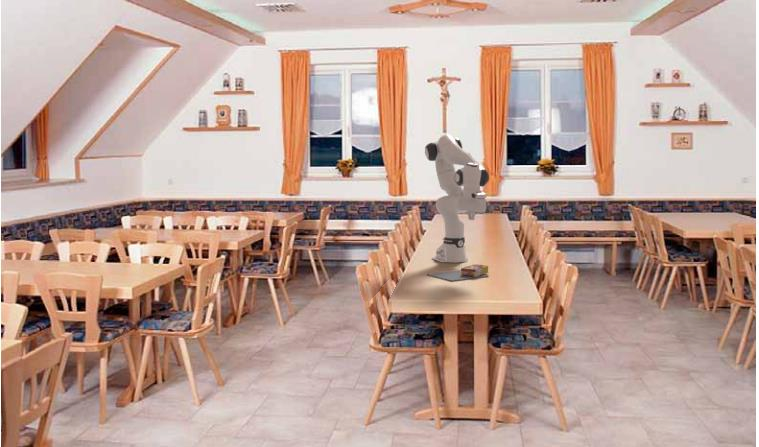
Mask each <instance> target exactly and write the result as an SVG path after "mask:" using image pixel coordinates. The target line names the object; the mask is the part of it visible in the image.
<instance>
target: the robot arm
mask: <svg viewBox="0 0 759 447" xmlns="http://www.w3.org/2000/svg"><path fill="white" fill-rule="evenodd" d="M424 154H425V156H426V159H427V160H428V161H430V162H434V163H435V172H436V176H437V180H438V185H439V187H440V189H441V190H443V191H444V192H445V193H446V194H447V195H444V196H443V195H442V196H441V197H438V198H437V200H436V202H435V209H436V211H437V213H439V214H440V215H441V217H442V219H443V222H444V233H445V234H444V235H445V236H444V237H443V238H442V240H443V243H442V244H441V245H440V246H439V247H438V248H437V249H436V251H435V255H434V256H432V257H431V259H432V260H435V261H437V262H440V263H450V264H452V263H465V262H467V260H469V258H468V257H467V249H466V245H465V243H466V242H465V241H466V239H465V224H464V223H463V221H461V220H460V218H459V214H464V213H466V214H467V217H468V220H469V221H474V220H475V217H476V213H478V214H479V213H480V214H483V213H486V211H487V200H486V198H487V194H486V193H485V192H483V191H482V190H481V187H482V188H484V186H486V185H487V184H488V183H489V180H490V175H489V172H488V170H486V168H484V167H483V166H481V164H480V163H479V162H478V161H477V160H476V159H475V157H474V156H473V155H472V154H471V153H469V152H468V151H466V150H465V149H463V144H462V141H461V140H460V138H458V137H453V136H451V135H450V134H444V135H442V136H440V138H438V140H437V141H435V142H430V143H427V144H426V145H425V148H424ZM455 165H459V166H463V167H461V168H458V169H457V170H456V169H455V168H456V167H455Z"/></svg>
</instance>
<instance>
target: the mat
mask: <svg viewBox="0 0 759 447" xmlns="http://www.w3.org/2000/svg"><path fill="white" fill-rule="evenodd" d="M426 276H429V277H433V278H436V279H440V280H443V281H447V282H453V283H454V282H460V281H467V280H468V281H469V280H474V279H483V278H489V275H487V274H483V275H480V276H477V277H471V276H461V269H458V270H449V271H441V272H433V273H426Z"/></svg>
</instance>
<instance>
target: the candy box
mask: <svg viewBox="0 0 759 447" xmlns="http://www.w3.org/2000/svg"><path fill="white" fill-rule="evenodd" d="M460 270H461V276H471V277H477V276H480V275H487V274H488V273H489V265H486V264H475V263H473V264H470V265H467V266H464V267H461V268H460Z"/></svg>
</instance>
